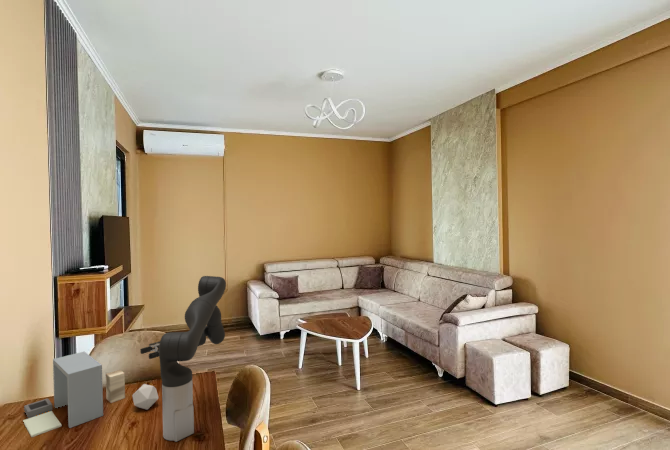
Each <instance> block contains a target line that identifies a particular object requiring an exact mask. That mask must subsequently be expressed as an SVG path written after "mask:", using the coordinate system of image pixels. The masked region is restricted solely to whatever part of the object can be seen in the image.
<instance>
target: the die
mask: <svg viewBox="0 0 670 450" xmlns="http://www.w3.org/2000/svg"><path fill="white" fill-rule="evenodd" d="M158 394H159V393H158V391H157V388H156V387H155V386H154V385H150V384H146V383H143V384H142V385H141V386H140V387H139V388H138V389H137V390H136V391H135V392H133V394H132V401H133V405H134V406H135V407H136V408H138V409H143V410H146V411H147V410H149V409H150V407H152V406H153V405H154V404H155V403H156V402H157V401H158V399H159V395H158Z"/></svg>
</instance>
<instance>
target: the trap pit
mask: <svg viewBox="0 0 670 450" xmlns="http://www.w3.org/2000/svg"><path fill="white" fill-rule="evenodd" d="M53 408H54V407H53V403H52V402H51V400H50V399H49V398H48V397H47V398H45V399H42V400H38V401H35V402H31V403H28V404H26V405H23V411H25V413H26V415H27V416H26V415H25V416H26V418H27V417H28V418H31V417H34V416H36V415H39V414H42V413H45V412H48V411H52V410H53ZM52 412H53V411H52ZM25 413H24V414H25ZM28 418H27V419H28Z"/></svg>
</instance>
